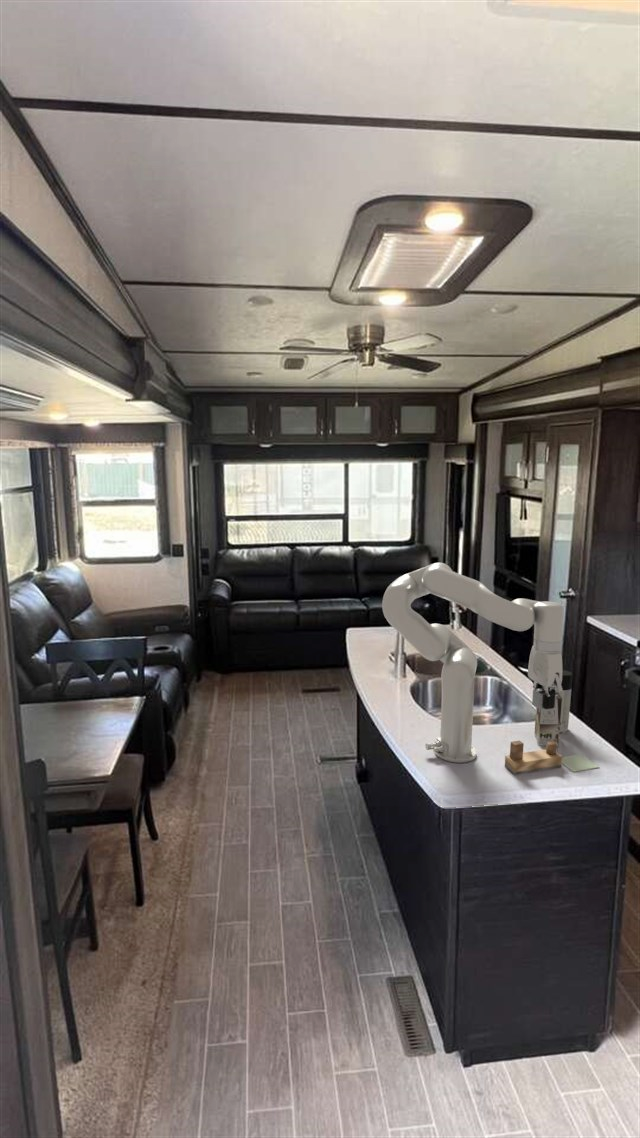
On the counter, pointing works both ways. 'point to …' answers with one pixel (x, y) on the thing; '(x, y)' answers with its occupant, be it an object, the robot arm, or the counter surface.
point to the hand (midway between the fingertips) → (543, 704)
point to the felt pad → (578, 763)
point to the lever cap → (540, 698)
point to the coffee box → (548, 723)
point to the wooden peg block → (532, 758)
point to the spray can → (565, 700)
